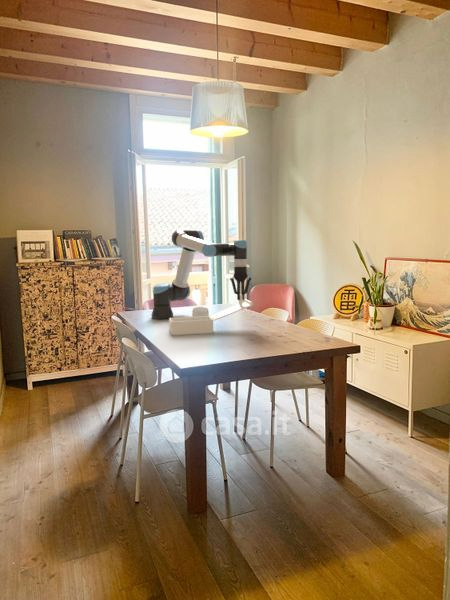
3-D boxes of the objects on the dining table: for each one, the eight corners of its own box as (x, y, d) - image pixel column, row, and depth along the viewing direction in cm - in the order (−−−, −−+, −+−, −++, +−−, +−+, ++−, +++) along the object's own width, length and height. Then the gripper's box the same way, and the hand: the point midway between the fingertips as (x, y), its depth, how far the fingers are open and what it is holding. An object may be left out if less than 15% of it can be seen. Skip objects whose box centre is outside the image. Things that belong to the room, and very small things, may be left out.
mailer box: (169, 331, 265) (169, 318, 264) (208, 328, 270) (208, 315, 269) (172, 335, 252) (171, 322, 251) (213, 333, 258) (213, 319, 257)
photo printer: (209, 325, 280) (208, 306, 278) (208, 327, 276) (208, 307, 274) (193, 325, 281) (192, 306, 279) (192, 327, 277) (191, 307, 275)
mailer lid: (245, 298, 273) (246, 302, 274) (208, 313, 269) (209, 316, 270) (252, 302, 261) (253, 305, 261) (213, 317, 256) (214, 320, 257)
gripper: (231, 266, 258) (231, 306, 261) (252, 266, 261) (252, 305, 264) (228, 266, 265) (228, 305, 268) (249, 265, 268) (249, 304, 271)
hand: (240, 305), depth 266 cm, fingers closed
